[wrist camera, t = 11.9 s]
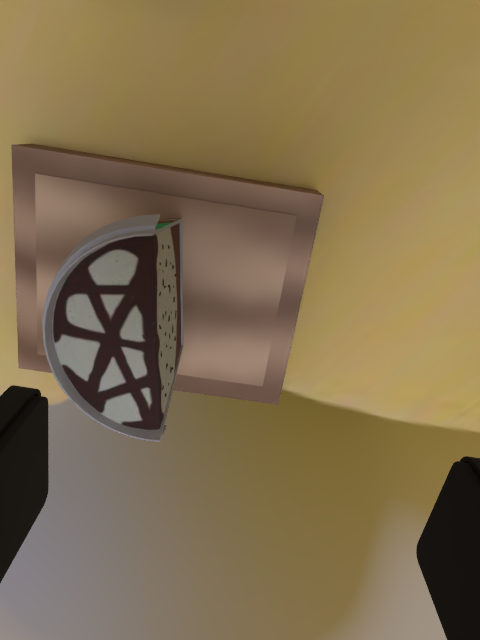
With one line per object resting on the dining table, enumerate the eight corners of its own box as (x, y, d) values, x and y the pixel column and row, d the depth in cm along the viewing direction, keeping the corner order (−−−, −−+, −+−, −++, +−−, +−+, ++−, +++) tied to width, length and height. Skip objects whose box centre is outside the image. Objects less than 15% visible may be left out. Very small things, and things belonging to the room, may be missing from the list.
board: (32, 143, 31) (10, 144, 28) (317, 190, 32) (324, 195, 29) (35, 350, 37) (17, 369, 34) (275, 385, 38) (278, 405, 35)
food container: (86, 191, 29) (12, 216, 20) (181, 194, 29) (151, 221, 20) (101, 361, 34) (47, 445, 25) (183, 364, 34) (160, 450, 25)
